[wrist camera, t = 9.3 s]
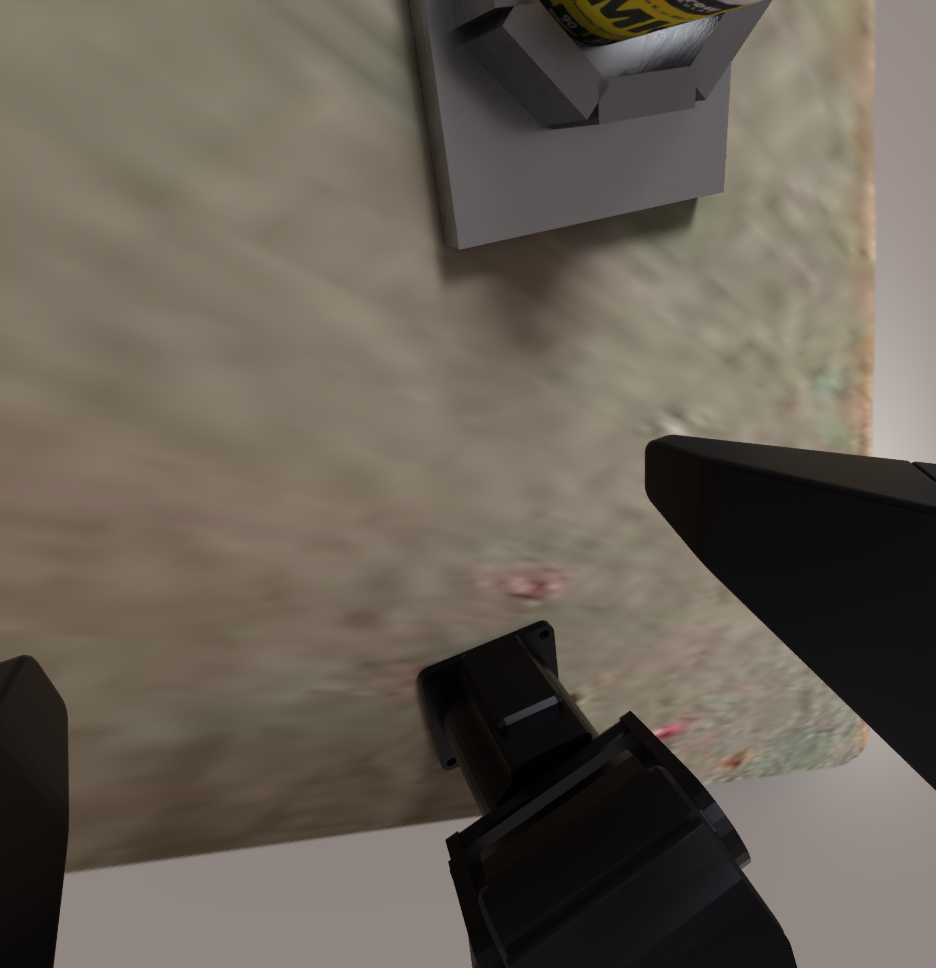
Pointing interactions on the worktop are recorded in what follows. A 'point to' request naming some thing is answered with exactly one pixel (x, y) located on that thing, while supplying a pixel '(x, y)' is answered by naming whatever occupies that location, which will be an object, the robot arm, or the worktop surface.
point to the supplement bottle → (629, 17)
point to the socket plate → (553, 167)
